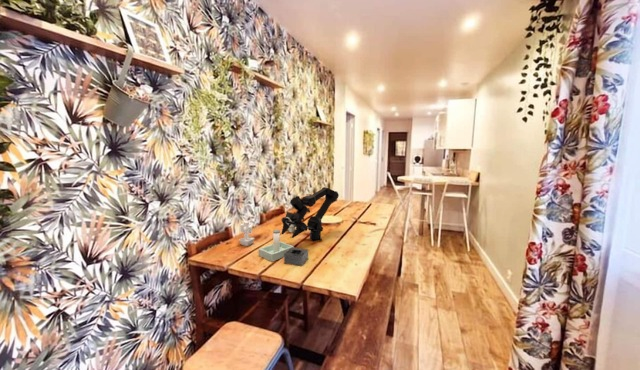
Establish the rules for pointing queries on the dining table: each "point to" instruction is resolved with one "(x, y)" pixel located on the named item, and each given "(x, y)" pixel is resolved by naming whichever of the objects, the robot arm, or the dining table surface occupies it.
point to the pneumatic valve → (291, 227)
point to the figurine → (246, 234)
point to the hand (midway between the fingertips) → (287, 235)
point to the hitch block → (296, 256)
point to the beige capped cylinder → (276, 241)
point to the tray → (269, 255)
